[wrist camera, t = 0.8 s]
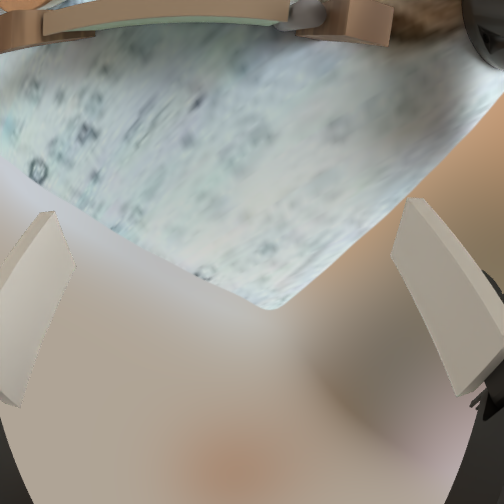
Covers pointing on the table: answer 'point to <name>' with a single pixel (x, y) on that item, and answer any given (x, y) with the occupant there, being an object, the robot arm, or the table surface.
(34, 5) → the lidded jar
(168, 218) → the table surface
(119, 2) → the gate
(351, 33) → the gate posts
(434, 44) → the table surface
